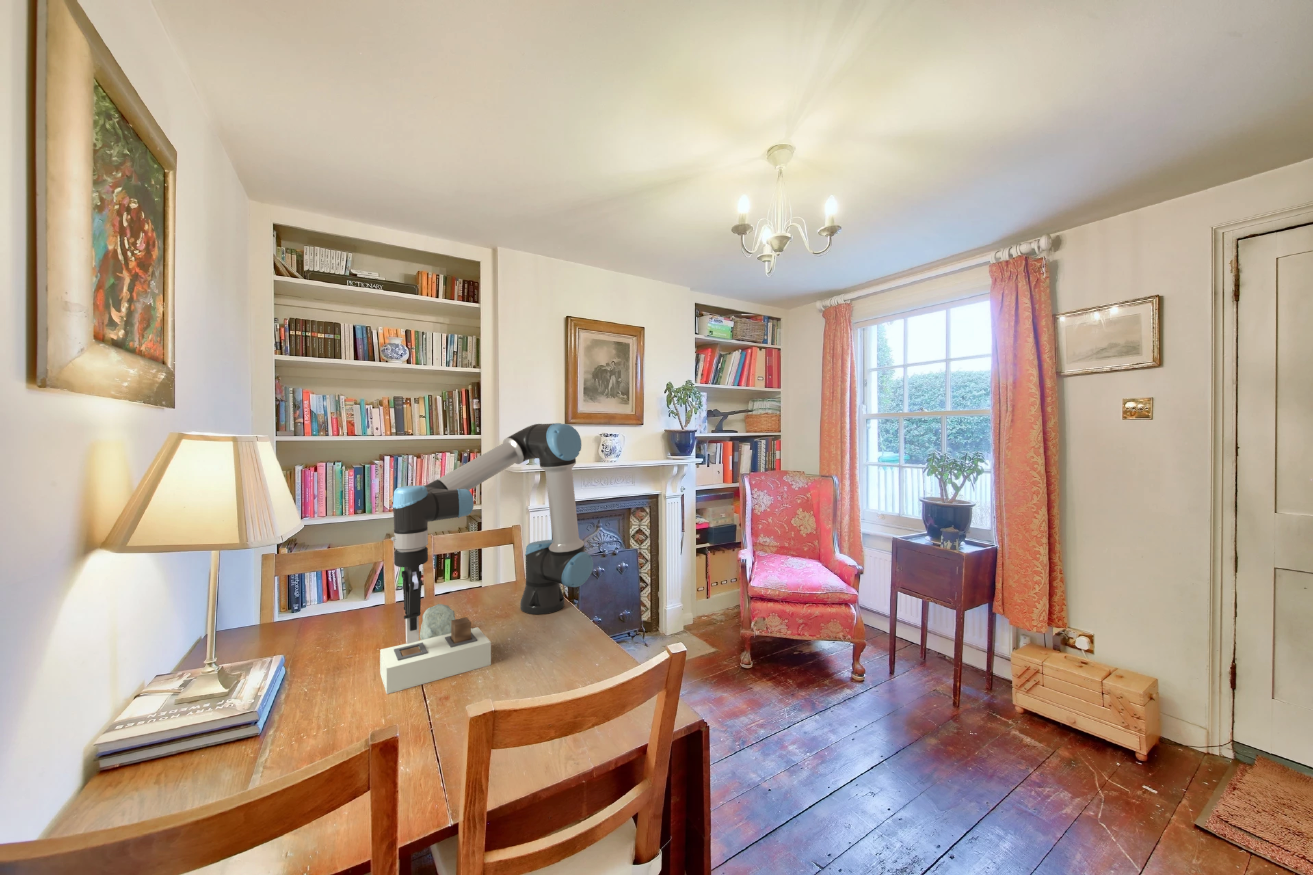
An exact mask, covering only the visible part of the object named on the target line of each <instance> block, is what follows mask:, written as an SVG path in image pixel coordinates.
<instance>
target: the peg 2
mask: <svg viewBox="0 0 1313 875" xmlns="http://www.w3.org/2000/svg"><path fill="white" fill-rule="evenodd" d="M471 629H472V621H471V620H470V619H469V618H468V617H462V618H455V620H451V640H452V642H453V643H454V644H455V643H459V642H463V641H467V640H471Z"/></svg>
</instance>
